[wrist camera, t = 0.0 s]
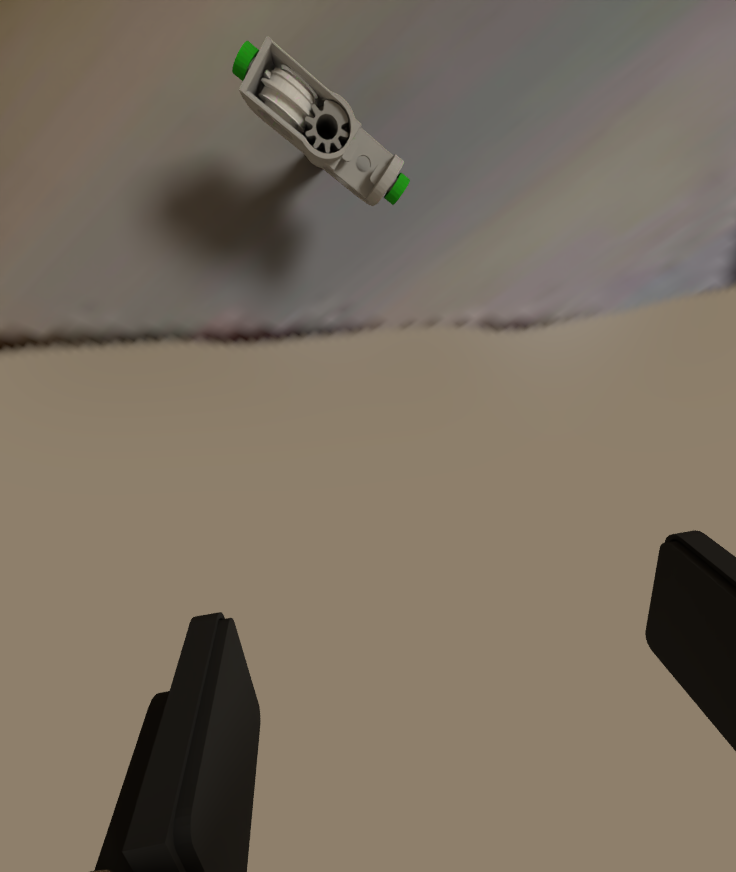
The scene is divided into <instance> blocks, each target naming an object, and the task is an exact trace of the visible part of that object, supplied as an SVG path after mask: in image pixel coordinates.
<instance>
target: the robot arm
mask: <svg viewBox="0 0 736 872" xmlns="http://www.w3.org/2000/svg"><path fill="white" fill-rule="evenodd" d="M646 640H647V643H648V645H649V647H650V649H651V650H652V651H653V652H654V654H655V655H656V656H657V657H658V658H659V660H660V661H661V662H662V663H663V665H664V666H665V667H666V668H667V669H668V671H669V672H670V673H671V674H672V675H673V677H674V678H675V679H676V680H677V681H678V683H679V684H680V685H681V686H682V687H683V689H684V690H685V691H686V692H687V693H688V695H689V696H690V697H691V698H692V699H693V700H694V702H695V703H696V704H697V705H698V707H699V708H700V709H701V710H702V711H703V712H704V714H705V715H706V716H707V717H708V719H709V720H710V721H711V722H712V723H713V725H714V726H715V727H716V728H717V729H718V730H719V732H720V733H721V734H722V735H723V737H724V738H725V739H726V740H727V741H728V743H729V744H730V745H731V746H732V747H733V749H734V750H735V751H736V557H735V556H733V555H732V554H731V553H729V552H728V551H727V550H725V549H724V548H723V547H721V546H720V545H719V544H717V543H716V542H715V541H713V540H712V539H711V538H709V537H708V536H707V535H705V534H704V533H702V532H700V531H690V532H683V533H677V534H672V535H669V536H668V537H667V538H666V540H665V543H663V544H662V545H661V546H660V550H659V556H658V562H657V568H656V573H655V580H654V585H653V591H652V597H651V603H650V609H649V614H648V620H647V626H646ZM259 732H260V709H259V704H258V700H257V697H256V694H255V690H254V687H253V684H252V680H251V677H250V673H249V670H248V667H247V663H246V660H245V657H244V653H243V650H242V646H241V643H240V640H239V636H238V633H237V629H236V626H235V623H234V620H233V619H232V618H228V619H225V618H224V615H223V614H222V613H221V612H220V613H213V614H208V615H203V616H197V617H193V618H192V619H191V622H190V624H189V628H188V631H187V634H186V638H185V641H184V645H183V648H182V651H181V655H180V658H179V661H178V665H177V668H176V672H175V675H174V678H173V682H172V685H171V689H170V691H168V692H163V693H158V694H156V695H155V696H154V697H153V699H152V700H151V703H150V705H149V707H148V710H147V713H146V716H145V719H144V722H143V725H142V728H141V731H140V734H139V737H138V741H137V744H136V747H135V750H134V753H133V756H132V759H131V762H130V765H129V768H128V771H127V774H126V777H125V780H124V783H123V786H122V789H121V792H120V795H119V798H118V801H117V804H116V807H115V810H114V813H113V816H112V819H111V822H110V825H109V828H108V831H107V834H106V837H105V840H104V843H103V846H102V849H101V852H100V856H99V858H98V861H97V864H96V867H95V870H94V871H90V872H247V863H248V851H249V840H250V830H251V819H252V808H253V798H254V787H255V776H256V764H257V754H258V743H259Z"/></svg>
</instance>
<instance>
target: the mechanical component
mask: <svg viewBox="0 0 736 872" xmlns="http://www.w3.org/2000/svg"><path fill="white" fill-rule="evenodd" d="M288 67H289V68H290V69H292V70H293V71H295V72H296V73H297V74H298V75H300V76H301V77H302V78H303V79H304V80H305V81H306V82H307V83H308V84H309V85H310V86H311V87H312V89H313V90H314V91H315V92H314V91H313V90H311V89H310V88H308V87H307V86H306V85H305V84H304V83H303V82H302V81H301V80H300V79H298V78H297V77H296V76H295V75H294V74H293V73H292V72H291V71H290V69H289V68H288ZM232 72H233V74H235V75H236V76H237V77H238V78H239V79H241V80H242V81H243V82H242V84H241V86H240V88H239V91H240V93H241V95H242V97H243V99H244V100H245V101H246V103H247V105H248V106H249V107H250V109H251V110H252V111H253V112H254V113H255V114H256V115H258V116H259V117H260V118H261V119H262V120H263V121H264V122H266V123H267V124H268V125H269V126H270V127H272V128H273V129H274V130H275V131H277V132H278V133H279V134H280V135H282V136H283V137H284V138H285V139H287V140H288V141H289V142H290V143H292V144H293V145H294V146H295V147H296V148H298V149H299V150H300V151H301V152H303V153H304V154H305V155H306V157H307V159H308V160H309V161H310V162H311V163H312V164H314V165H315V166H317V167H319V168H322V169H324V170H325V171H326V172H327V173H329V174H330V175H331V176H332V177H334V178H335V179H336V180H337V181H339V182H340V183H341V184H342V185H344V186H345V187H346V188H347V189H349V190H350V191H351V192H352V193H353V194H355V195H356V196H357V197H359V198H360V199H361V200H363V201H364V202H366V203H367V204H369V205H371V206H374V205H376V204H377V203H378V202H379V201H380V199H381V198H382V197H383V195H384V194H385V193H386V191H387V193H386V194H385V196H384V198H385V199H386V200H387V201H389V202H390V203H391V204H392V205H394V204H395V203H396V202H397V200H398V199H399V198H400V196H401V195H402V193H403V192H404V190H405V189H406V187H407V186H408V184H409V182H410V180H409V179H408V178H407V177H406V176H405V175H404V174H402V173H400V174H399V175H398V176H397V174H398V173H399V171H400V169H401V168H402V166H403V164H404V161H403V160H402V159H400V158H399V157H398V156H397V155H396V154H395V155H394V156H393V155H392V154H391V153H390V152H388V151H387V150H386V149H385V148H384V147H383V146H382V145H380V144H379V143H378V142H377V141H376V140H375V139H373V138H372V137H371V136H370V135H369V134H368V133H367V132H365V131H364V130H363V129H362V128H361V125H362V124H361V123H360V122H359V121H358V120H356V119H355V117H354V113H353V111H352V109H351V107H350V105H349V104H348V103H347V101H346V100H345V99H344V98H343V97H341V96H340V95H338V94H336V93H333V92H331V91H330V90H329V89H327V88H326V87H325V86H324V85H323V84H322V83H321V82H319V81H318V80H317V79H316V78H315V77H314V76H313V75H311V74H310V73H309V72H308V71H307V70H306V69H305V68H303V67H302V66H301V65H300V64H299V63H298V62H297V61H295V60H294V59H293V58H292V57H291V56H290V55H289V54H287V53H286V52H285V51H284V50H283V49H282V48H281V47H279V46H278V45H277V44H276V43H275V42H274V41H273V40H271V39H270V38H269V37H268V36H267V37H266V39H265V41H264V43H263V45H262V46H261V48H260V50H258V49H257V48H256V47H254V46H253V45H252V44H251V43H250V42H249V41H246V42H245V43H244V44H243V45H242V47H241V49H240V50H239V52H238V54H237V56H236V59H235V62H234V65H233V70H232ZM396 176H397V177H396Z"/></svg>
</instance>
